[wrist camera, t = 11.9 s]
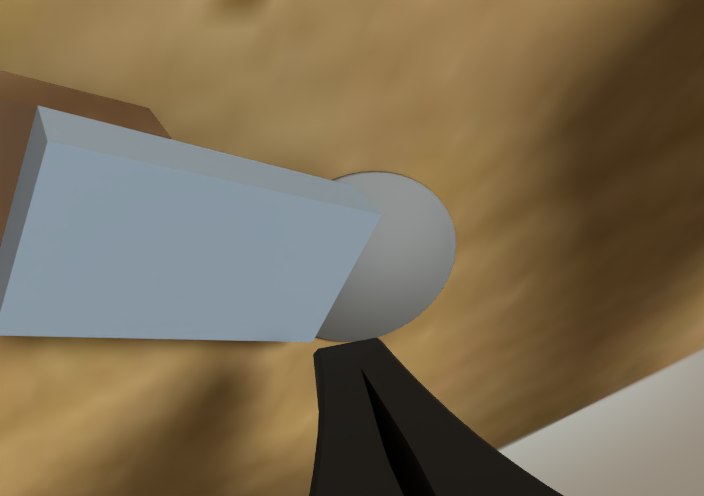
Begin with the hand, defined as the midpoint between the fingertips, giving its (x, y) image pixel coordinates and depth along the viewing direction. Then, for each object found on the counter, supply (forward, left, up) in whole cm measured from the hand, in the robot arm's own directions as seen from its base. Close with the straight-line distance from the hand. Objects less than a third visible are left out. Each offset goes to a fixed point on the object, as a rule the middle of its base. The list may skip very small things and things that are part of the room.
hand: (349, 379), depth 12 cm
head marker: (-1, +2, -6) cm, 6 cm away
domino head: (0, +1, -5) cm, 5 cm away
